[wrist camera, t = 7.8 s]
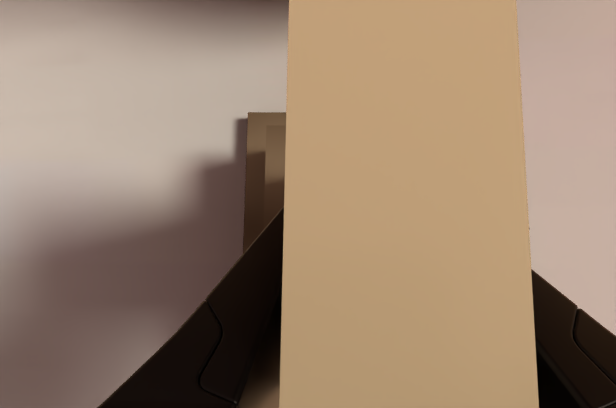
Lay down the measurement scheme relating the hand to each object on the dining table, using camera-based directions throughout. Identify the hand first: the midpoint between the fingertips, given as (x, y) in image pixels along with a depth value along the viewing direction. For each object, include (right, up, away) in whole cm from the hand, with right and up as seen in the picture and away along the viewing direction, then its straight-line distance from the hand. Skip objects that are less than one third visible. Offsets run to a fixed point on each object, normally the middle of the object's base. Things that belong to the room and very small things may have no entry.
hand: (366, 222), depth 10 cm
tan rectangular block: (0, -1, +7) cm, 7 cm away
